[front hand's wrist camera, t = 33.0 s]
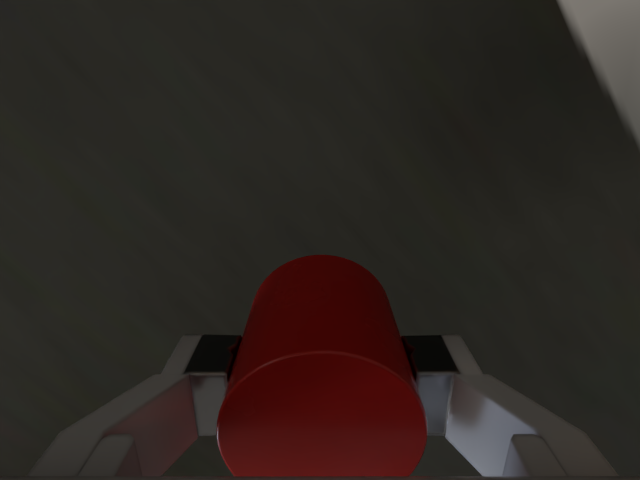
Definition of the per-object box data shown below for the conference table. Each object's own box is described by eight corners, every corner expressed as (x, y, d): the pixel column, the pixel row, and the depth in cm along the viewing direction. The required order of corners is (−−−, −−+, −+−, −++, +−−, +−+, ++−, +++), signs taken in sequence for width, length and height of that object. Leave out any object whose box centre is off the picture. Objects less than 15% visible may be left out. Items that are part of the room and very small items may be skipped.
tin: (223, 312, 12) (171, 433, 8) (327, 225, 11) (332, 309, 7) (316, 394, 13) (314, 538, 9) (417, 321, 12) (470, 446, 8)
